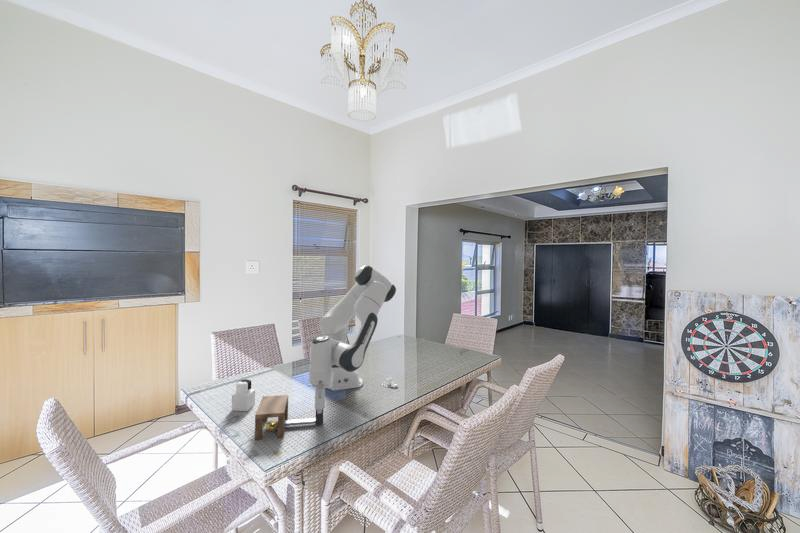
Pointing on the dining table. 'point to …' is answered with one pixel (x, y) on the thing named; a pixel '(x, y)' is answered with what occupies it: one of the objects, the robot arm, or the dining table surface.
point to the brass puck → (272, 425)
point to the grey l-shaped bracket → (305, 420)
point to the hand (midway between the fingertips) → (319, 410)
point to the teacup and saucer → (390, 382)
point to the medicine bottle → (243, 396)
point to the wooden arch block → (271, 413)
